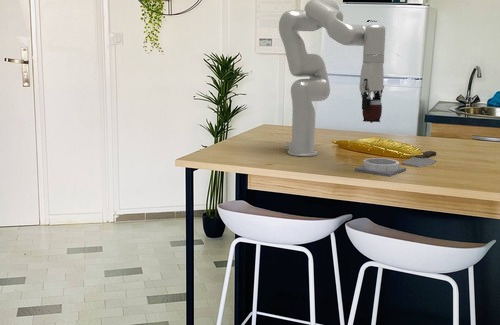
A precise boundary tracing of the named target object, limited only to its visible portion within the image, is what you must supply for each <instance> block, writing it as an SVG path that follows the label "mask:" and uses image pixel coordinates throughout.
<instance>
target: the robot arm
mask: <svg viewBox="0 0 500 325" xmlns="http://www.w3.org/2000/svg"><path fill="white" fill-rule="evenodd" d="M322 28H324V29H325V30H326V32H327V35H328V36H329V37H330V39H332V40H334V41H336V42H337V43H339V44H341V45H343V46H353V47H354V46H355V47H357V46H358V47H359V46H360V47H363V49H362V65H361V69H360V76H359V91H360V95H361V110H362V111H363V110H370V102H371V99H375V100H380V101H381V102H382V95H383V91H384V88H385V85H384V81H385V80H384V79H385V78H384V64H385V63H384V62H385V48H386V27H385V26H384V25H383V24H382V25H381V24H379V25H378V24H369V25H365V24H348V23H345V22H344V14H343V12H342V11H341V10H340V7H339V4H337V2H336V1H334V0H309V1H307V2H306V4H305V6H304V10H303V9H290V10H286V11H285V12H283V13H282V15H281V16H280V19H279V21H278V33H279V37H280V38H281V41H282V43H283V44H282V45H283V48H284V51H285V55H286V57H285V58H286V60H287V64H288V69H289V72H290V74H291V75H292V76H293V77H298V78H300V77H301V79H297V80H295V81H294V82H293V83H292V85H291V86H290V96H291V97H290V98H291V104H292V107H291V108H292V116H291V117H292V122H291V124H292V126H291V142H290V141H289V142H288V141H286V142H285V144H284V147H285V148H289V149H288V150H287V154H288V155H291V156H296V157H314V156H316V155H318V151H317V150H315V134H316V132H315V130H316V111H315V108H314V105H313V103H312V102H323V101H325V100H327V99H328V98H329V96H330V93H331V85H330V81H329V78H328V72H327V67H326V63H325V62H324V60H323V58H322V57H321V56H320V55H319V54H316V53H308V52H307V49H306V44H305V42H304V40H303V38H302V37H301V35H300V34H299V33H298V32H317V31H318V30H320V29H322ZM306 77H309V78H306ZM367 89H368V90H367ZM371 94H373V96H372V98H371V99H369V98H370V97H371Z"/></svg>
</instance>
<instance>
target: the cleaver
mask: <svg viewBox="0 0 500 325" xmlns="http://www.w3.org/2000/svg"><path fill="white" fill-rule="evenodd" d="M422 153H423V155H421V156H415V157H413V156H412V157H410V158H408V159H406V160H404V161H403V162H401V165H403V166H408V167H415V168H420V167H421V168H424V167H428V166H431V165H432V164H434V163H436V162H437V159H436V160H435V159H433V158H430V157H435V156H437V152H436V151H434V150H427V151H424V152H422Z"/></svg>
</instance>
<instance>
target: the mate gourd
mask: <svg viewBox="0 0 500 325" xmlns="http://www.w3.org/2000/svg"><path fill="white" fill-rule="evenodd" d="M367 90H368V89H367ZM369 99H371V102H370V110H363V109H362V111H361V112H362V117H363V118H362V119H363V120H362V122H367V123H369V122H370V124H371V123H381V117H382V114H383V113H382V112H383V111H382V110H383V105H382V100H381V101H380V100H375V99H373V98H371V96H370V98H369Z"/></svg>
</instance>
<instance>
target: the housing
mask: <svg viewBox="0 0 500 325" xmlns="http://www.w3.org/2000/svg"><path fill="white" fill-rule="evenodd" d="M362 161H363V162H362V165H361V166H357V167H355V168H354V171H355V172H359V173H364V172H365V174H372V175H376V174H377V176H378V175H379V176H384V177H390V178H391V177H393V176H395V175H397V173H398V174H400V173H403V172H406V171H407V167H404V166H400V161H399V160H396V159H392V158H390V159H389V158H385V157H384V158H381V157H371V158H369V157H368V158H365V159H363V160H362ZM392 175H393V176H392Z"/></svg>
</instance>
